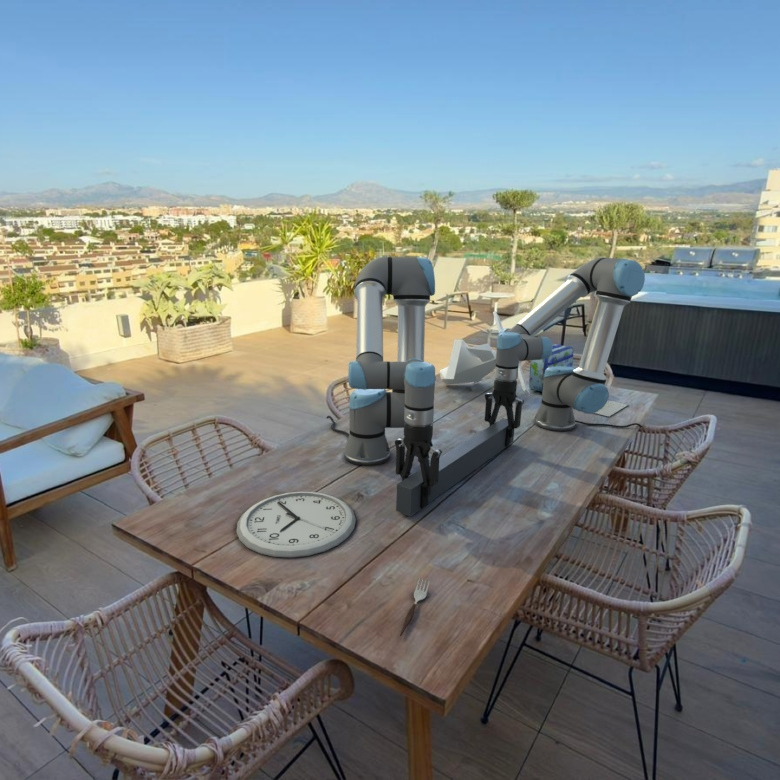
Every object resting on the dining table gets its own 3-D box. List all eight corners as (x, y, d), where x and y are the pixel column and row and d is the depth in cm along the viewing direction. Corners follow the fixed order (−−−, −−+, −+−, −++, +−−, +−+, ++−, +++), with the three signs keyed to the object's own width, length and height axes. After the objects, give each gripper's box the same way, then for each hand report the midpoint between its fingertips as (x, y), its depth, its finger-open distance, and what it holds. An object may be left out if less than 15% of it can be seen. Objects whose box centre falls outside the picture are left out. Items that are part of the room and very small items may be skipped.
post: (501, 438, 188) (503, 417, 185) (513, 441, 185) (515, 420, 183) (396, 510, 139) (396, 484, 136) (410, 516, 136) (411, 489, 134)
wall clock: (357, 549, 121) (224, 553, 118) (357, 555, 121) (224, 559, 118) (354, 487, 149) (247, 489, 147) (354, 492, 150) (247, 495, 147)
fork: (393, 636, 97) (393, 627, 97) (418, 584, 112) (419, 576, 111) (406, 640, 96) (407, 631, 96) (430, 587, 111) (430, 579, 110)
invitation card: (608, 416, 214) (573, 407, 224) (608, 416, 214) (573, 408, 224) (628, 404, 229) (594, 396, 238) (628, 405, 229) (594, 397, 238)
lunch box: (545, 397, 238) (550, 352, 231) (524, 391, 245) (529, 348, 239) (572, 386, 255) (578, 344, 249) (552, 381, 262) (557, 340, 256)
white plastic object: (461, 429, 252) (437, 405, 227) (444, 352, 274) (420, 323, 250) (535, 404, 240) (518, 377, 215) (510, 326, 262) (492, 293, 237)
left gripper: (382, 418, 137) (381, 498, 144) (440, 435, 127) (436, 519, 134) (399, 411, 142) (397, 487, 149) (455, 426, 132) (451, 507, 139)
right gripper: (476, 376, 177) (472, 440, 184) (526, 386, 167) (519, 453, 174) (486, 372, 183) (482, 434, 190) (535, 381, 172) (528, 446, 179)
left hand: (415, 502), depth 142 cm, fingers closed on post, 5 cm apart
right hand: (500, 443), depth 182 cm, fingers closed on post, 5 cm apart
